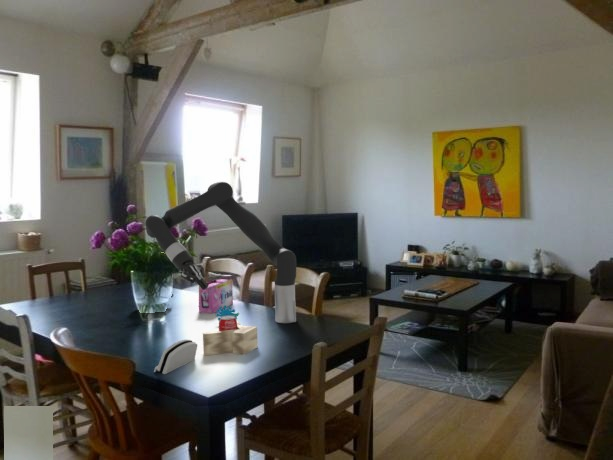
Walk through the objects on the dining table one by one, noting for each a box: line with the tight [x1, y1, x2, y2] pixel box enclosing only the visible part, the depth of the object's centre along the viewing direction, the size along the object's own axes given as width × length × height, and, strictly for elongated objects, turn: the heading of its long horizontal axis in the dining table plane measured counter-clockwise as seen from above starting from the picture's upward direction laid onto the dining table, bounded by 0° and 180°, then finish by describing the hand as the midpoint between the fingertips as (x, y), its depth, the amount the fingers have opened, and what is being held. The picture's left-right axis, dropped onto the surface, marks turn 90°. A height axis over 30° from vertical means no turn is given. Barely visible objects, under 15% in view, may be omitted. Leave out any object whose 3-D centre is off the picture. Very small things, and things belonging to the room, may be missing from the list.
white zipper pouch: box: [153, 339, 198, 375], centre depth 189 cm, size 17×5×10 cm, turn 155°
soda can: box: [218, 315, 238, 331], centre depth 209 cm, size 7×7×12 cm
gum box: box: [198, 277, 234, 314], centre depth 275 cm, size 24×8×14 cm, turn 161°
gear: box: [215, 305, 240, 322], centre depth 247 cm, size 11×6×10 cm
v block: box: [202, 319, 259, 356], centre depth 208 cm, size 15×23×8 cm, turn 156°
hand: (206, 288), depth 211 cm, fingers closed
